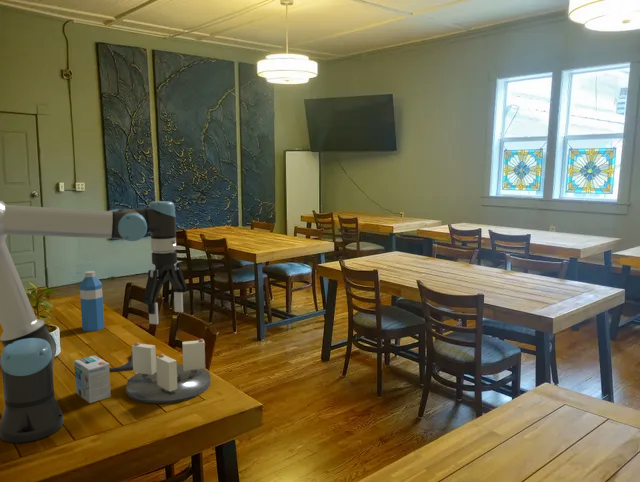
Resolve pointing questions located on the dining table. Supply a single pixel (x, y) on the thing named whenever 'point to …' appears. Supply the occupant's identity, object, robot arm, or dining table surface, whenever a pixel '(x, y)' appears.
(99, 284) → the water bottle
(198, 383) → the plate
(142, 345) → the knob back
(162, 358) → the white block with knob
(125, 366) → the bracket
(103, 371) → the light bulb box
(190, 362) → the beige upright box
